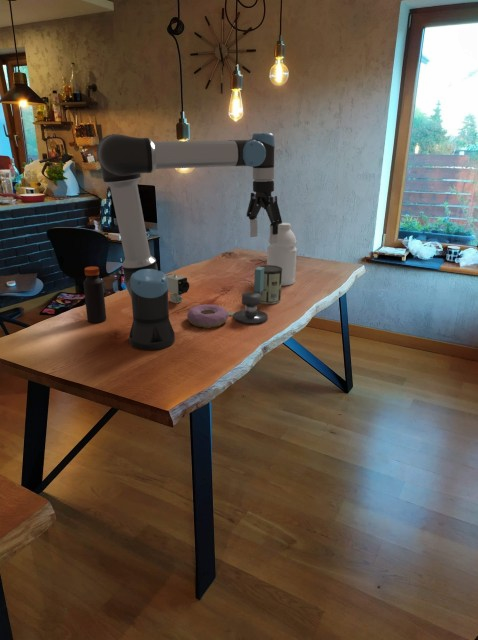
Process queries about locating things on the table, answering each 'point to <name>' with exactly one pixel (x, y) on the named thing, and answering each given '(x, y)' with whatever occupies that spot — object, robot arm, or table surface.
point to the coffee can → (271, 284)
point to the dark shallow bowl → (249, 316)
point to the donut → (207, 316)
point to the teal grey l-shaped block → (255, 289)
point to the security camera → (177, 287)
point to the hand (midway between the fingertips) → (263, 239)
